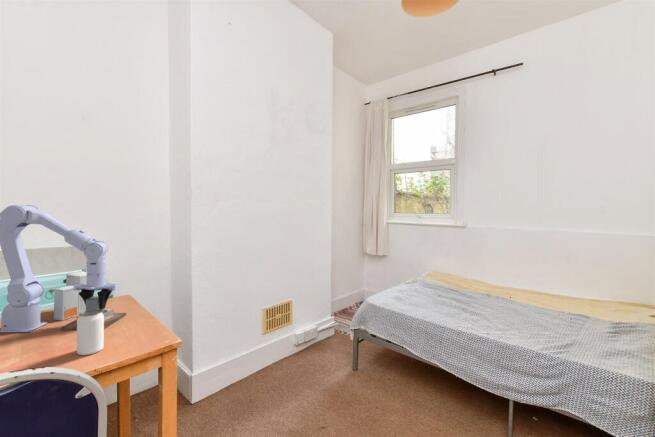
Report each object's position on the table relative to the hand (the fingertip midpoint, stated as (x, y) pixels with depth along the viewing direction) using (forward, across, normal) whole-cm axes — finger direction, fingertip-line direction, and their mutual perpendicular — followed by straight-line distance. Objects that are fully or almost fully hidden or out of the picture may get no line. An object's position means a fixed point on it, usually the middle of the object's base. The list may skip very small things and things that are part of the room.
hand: (96, 308), depth 112 cm
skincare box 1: (+5, -14, +5) cm, 16 cm away
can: (+6, +13, -23) cm, 27 cm away
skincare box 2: (+5, -15, +14) cm, 21 cm away
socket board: (+5, 0, 0) cm, 5 cm away
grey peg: (+3, 0, 0) cm, 3 cm away
